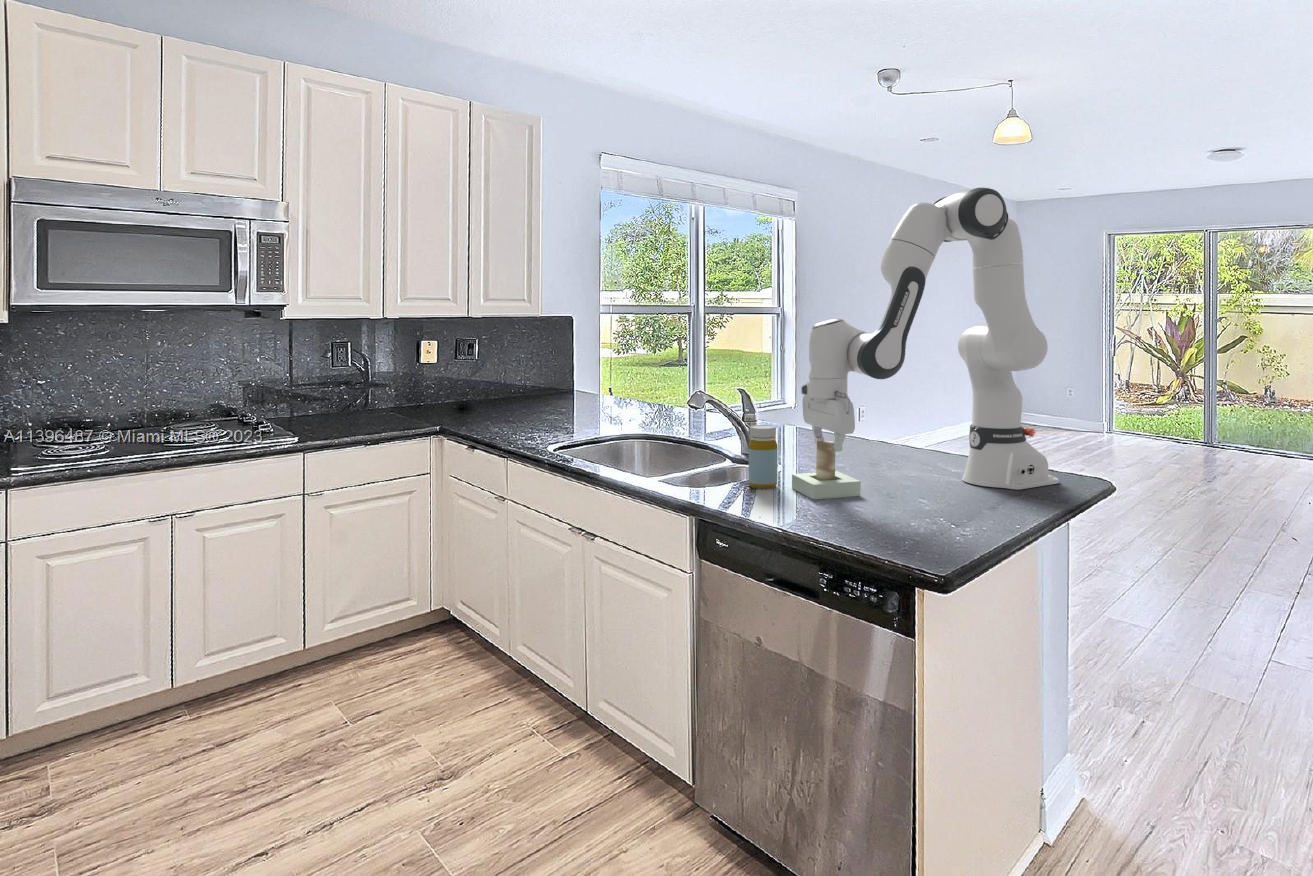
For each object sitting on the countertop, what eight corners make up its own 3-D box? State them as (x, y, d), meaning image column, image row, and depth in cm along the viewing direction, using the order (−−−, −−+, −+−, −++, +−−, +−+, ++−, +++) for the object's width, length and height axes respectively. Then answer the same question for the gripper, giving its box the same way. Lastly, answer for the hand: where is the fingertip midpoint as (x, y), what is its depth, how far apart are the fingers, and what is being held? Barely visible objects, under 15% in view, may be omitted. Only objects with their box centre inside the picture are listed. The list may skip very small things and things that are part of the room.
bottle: (758, 482, 198) (758, 423, 196) (782, 485, 194) (782, 426, 191) (743, 487, 193) (743, 427, 190) (767, 491, 188) (768, 429, 186)
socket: (836, 484, 194) (836, 470, 193) (860, 495, 182) (860, 481, 182) (791, 488, 191) (792, 474, 190) (813, 499, 179) (813, 484, 179)
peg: (829, 489, 189) (830, 440, 187) (837, 493, 185) (839, 443, 183) (812, 490, 188) (813, 441, 186) (820, 494, 184) (821, 444, 182)
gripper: (862, 393, 173) (861, 454, 176) (821, 384, 193) (821, 439, 195) (836, 394, 172) (836, 456, 174) (797, 386, 191) (798, 441, 194)
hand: (828, 447), depth 185 cm, fingers open, 8 cm apart
